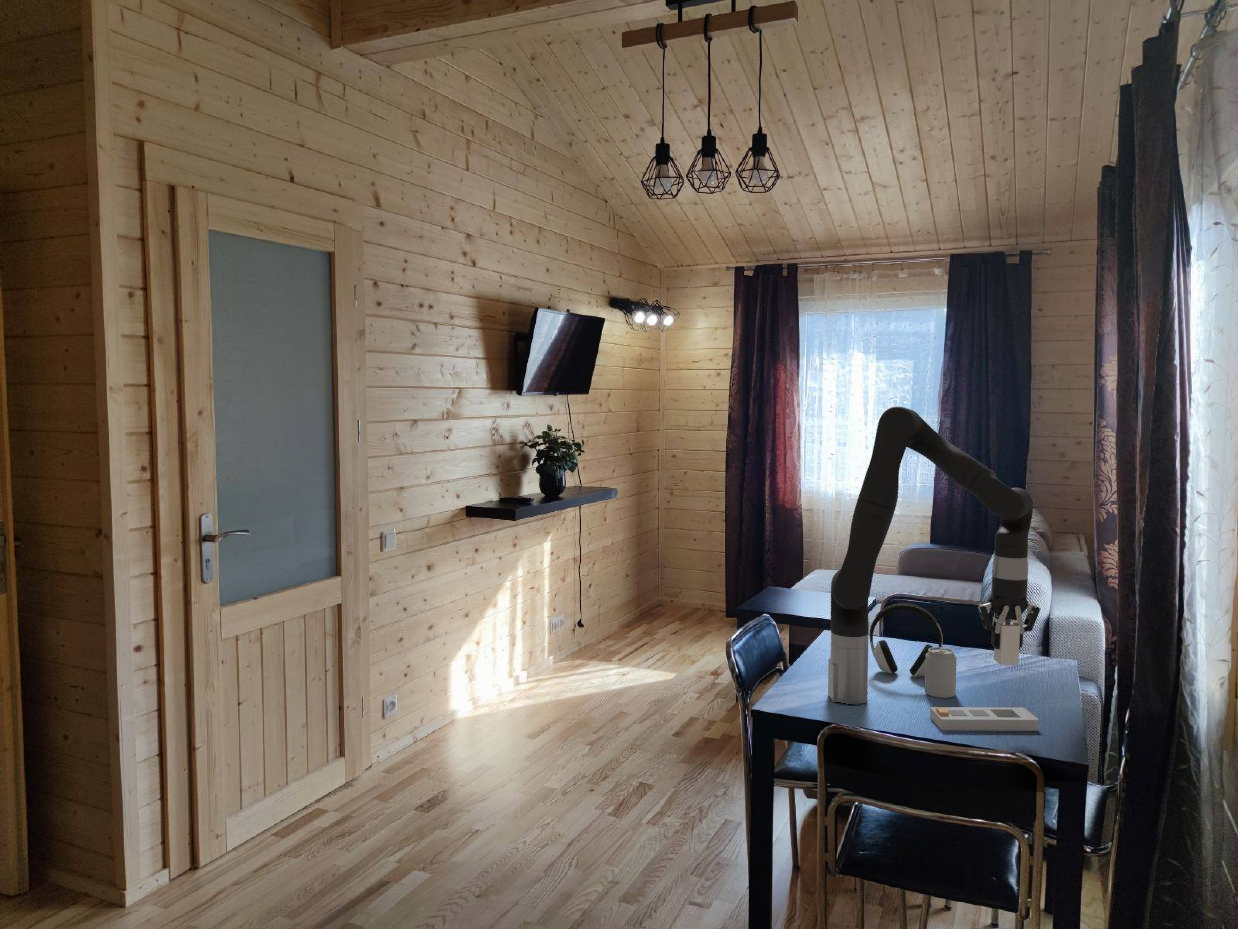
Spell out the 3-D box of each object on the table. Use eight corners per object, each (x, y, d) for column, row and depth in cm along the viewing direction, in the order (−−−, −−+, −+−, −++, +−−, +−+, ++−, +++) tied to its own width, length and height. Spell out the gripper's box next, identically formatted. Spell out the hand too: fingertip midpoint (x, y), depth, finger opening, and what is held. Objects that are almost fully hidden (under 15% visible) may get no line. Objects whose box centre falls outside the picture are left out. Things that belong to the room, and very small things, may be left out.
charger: (1000, 664, 206) (1002, 617, 205) (993, 659, 209) (995, 613, 209) (1018, 665, 205) (1020, 617, 204) (1011, 659, 209) (1013, 613, 208)
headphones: (866, 675, 247) (868, 603, 245) (870, 666, 254) (871, 597, 253) (941, 683, 239) (942, 609, 238) (942, 674, 247) (944, 603, 246)
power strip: (941, 732, 205) (941, 716, 205) (929, 719, 213) (930, 704, 213) (1038, 732, 205) (1038, 716, 204) (1023, 720, 213) (1024, 704, 212)
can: (919, 695, 230) (920, 649, 229) (933, 689, 235) (934, 644, 234) (947, 702, 225) (948, 655, 224) (960, 695, 230) (961, 649, 229)
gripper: (984, 578, 202) (981, 653, 204) (1048, 579, 202) (1045, 653, 203) (972, 571, 210) (969, 643, 211) (1034, 572, 209) (1030, 644, 211)
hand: (1006, 648), depth 207 cm, fingers closed on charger, 4 cm apart
